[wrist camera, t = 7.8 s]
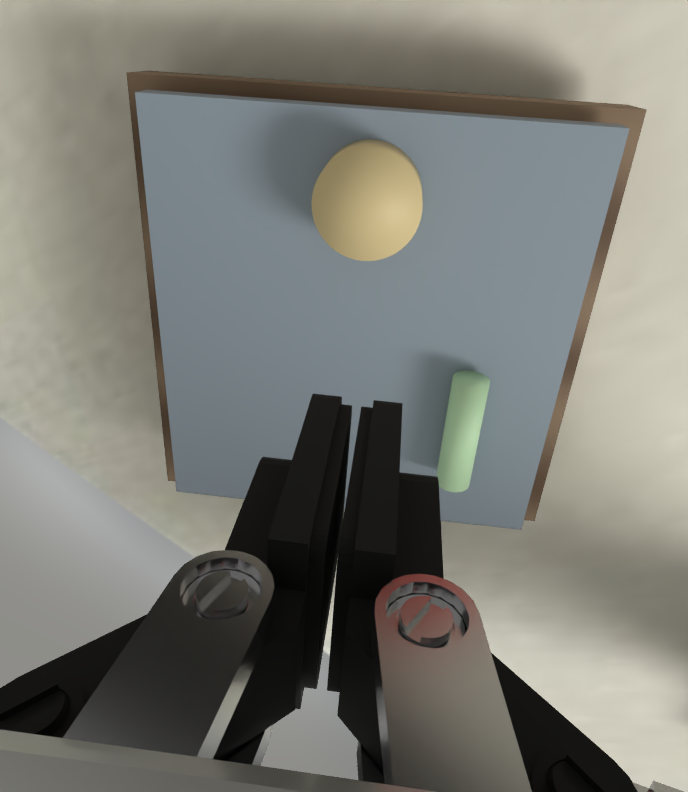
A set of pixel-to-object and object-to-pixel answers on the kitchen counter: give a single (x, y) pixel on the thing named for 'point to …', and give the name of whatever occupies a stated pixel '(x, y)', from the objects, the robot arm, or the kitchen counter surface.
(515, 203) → the plate
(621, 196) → the wooden board
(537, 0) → the kitchen counter surface
